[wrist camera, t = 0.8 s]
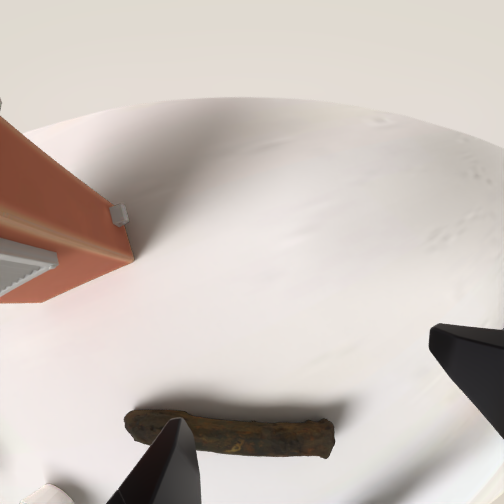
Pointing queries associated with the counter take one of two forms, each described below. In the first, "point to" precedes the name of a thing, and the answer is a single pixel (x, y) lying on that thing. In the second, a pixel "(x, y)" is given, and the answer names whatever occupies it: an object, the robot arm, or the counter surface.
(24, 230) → the brown case
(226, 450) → the hand tool
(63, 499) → the white cup
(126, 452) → the counter surface
